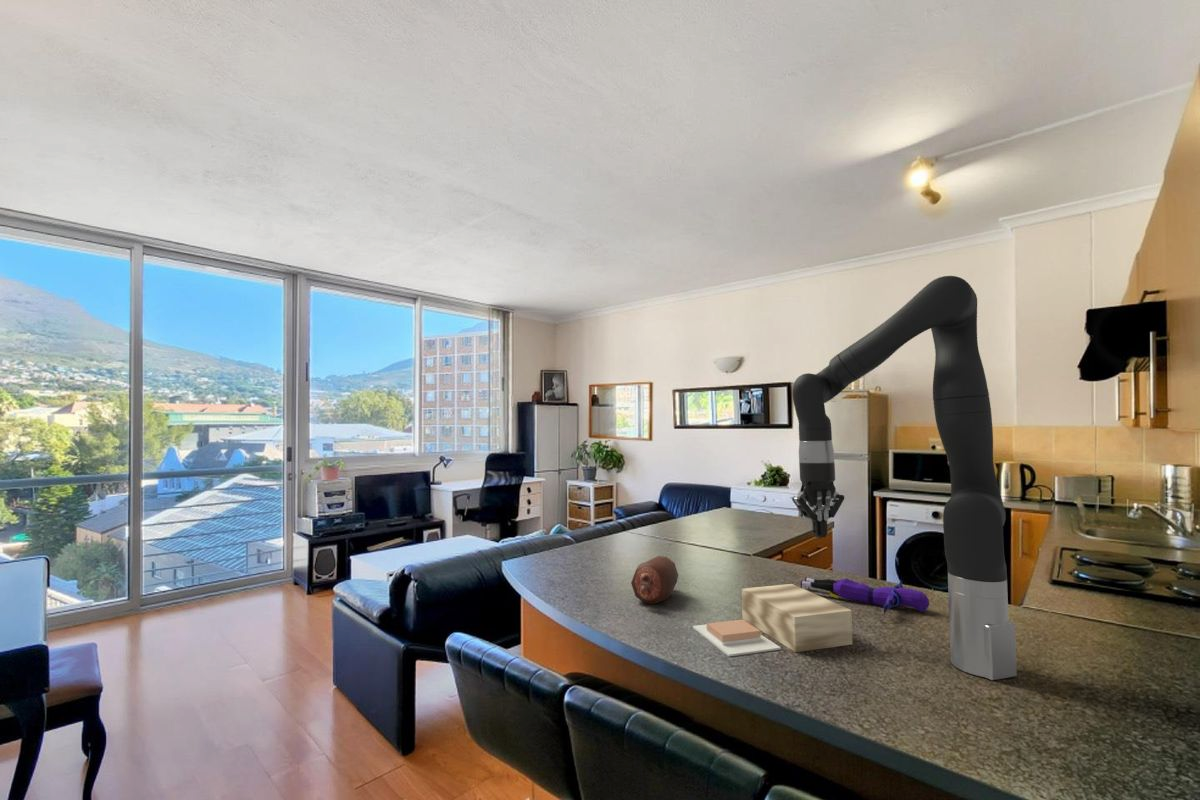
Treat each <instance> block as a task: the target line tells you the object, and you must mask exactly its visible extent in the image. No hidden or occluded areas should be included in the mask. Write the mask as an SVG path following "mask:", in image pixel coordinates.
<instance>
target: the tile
mask: <svg viewBox="0 0 1200 800" xmlns="http://www.w3.org/2000/svg"><path fill="white" fill-rule="evenodd" d="M706 624H707V633H708V634H709V635H711V636H712V637H713V638H715V639H716V640H717V641H718V642H720V643H721V644H722V645H726V644H734V643H742V642H750V641H758V640H760V637H761V635H762V634H761V630H760V629H758V628H756V627H755V626H753V625H752V624H750V623H749V622H747V621H745V620H744V619H734V620H725V621H716V622H707V623H706ZM760 634H761V635H760Z"/></svg>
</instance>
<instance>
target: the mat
mask: <svg viewBox="0 0 1200 800" xmlns="http://www.w3.org/2000/svg"><path fill="white" fill-rule="evenodd" d="M692 628H693V630H694V631H696V632H697V633H698V634H700V635H701V636H702V637H703V638H705V639H706V640H707V641H709V642H710V643H711V644H712V645H713V646H715V648H718V649H719V650H720V651H721V652H722V653H724V654H725V655H726V656H727V657H734V656H743V655H751V654H757V653H765V652H766V653H767V652H771V651H772V652H773V651H778V650H779V651H781V648H782V647H781V646H779V645H778V644H776V643H775V642H773V641H771V640H770V639H768V638H767V637H765V636H764V635H762V633H760V635H761V637H760V640H758V641H750V642H742V643H734V644H726V645H722V644H721V643H720V642H718V641H717V640H716V639H715V638H713V637H712V636H711V635H709V634H708V633H707V623H706V624H698V625H693V626H692Z"/></svg>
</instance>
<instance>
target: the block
mask: <svg viewBox="0 0 1200 800" xmlns="http://www.w3.org/2000/svg"><path fill="white" fill-rule="evenodd" d="M741 611H742V612H741V616H742V619H743V620H745V621H746V622H748V623H749V624H751V625H752V626H754V627H755V628H757V629H759V630H760V632H763V633H765V634H766V635H767V636H769V637H771V638H772V639H774V640H775V641H777V642H778V643H780V644H781V645H783V646H784V647H786V648H788V649H789V650H790V651H793V652H794V653H801V652H807V651H808V652H809V651H814V650H823V649H828V648H835V647H842V646H849V645H853V618H852V617H853V616H852V613H853V612H852V610H851V609H850V608H847V607H844V606H843V605H841V604H839V603H836V602H834V601H832V600H830V599H827V598H825V597H822V596H820V595H819V594H816V593H813V592H811V591H809V590H805V589H802V588H801V586H799V585H796V584H793V583H789V584H788V583H787V584H786V583H785V584H778V585H768V586H767V585H765V586H758V587H757V586H756V587H747V588H746V587H745V588H741ZM742 619H741V620H742Z"/></svg>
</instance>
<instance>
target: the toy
mask: <svg viewBox="0 0 1200 800" xmlns="http://www.w3.org/2000/svg"><path fill="white" fill-rule="evenodd" d="M800 588H802V589H805V590H807V591H809V589H810V588H813V589H818V590H819V589H820V590H823V591H827V592H829V596H831V597H833V598H834V599H835V598H836V599H840V598H842V599H845V600H848V601H852V602H854V601H855V602H859V603H864V604H870V605H876V606H878V607H879V606H880V607H883V614H886V612H887V611H888V610H890V609H892V608H895V607H898V606H904V607H907V608H908V609H914V610H918V611H919V612H920V613H925V612H926V611H927V610H928V608H929V606H930V600H929V597H928V595H926V593H924V592H922V591H921V590H917V589H912V588H907V587H904V586H903V580H900V581H899V583H897V584H896V585H894V586H882V587H877V588H876V587H875V588H874V587H870V586H869V585H867V584H865V583H862V582H857V581H854V580H851V579H848V578H842V579H837V580H835V579H829V578H826V579H817V578H815V579H814V578H810V577H808V576H806V577H805V579H804V580H801V581H800Z"/></svg>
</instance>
